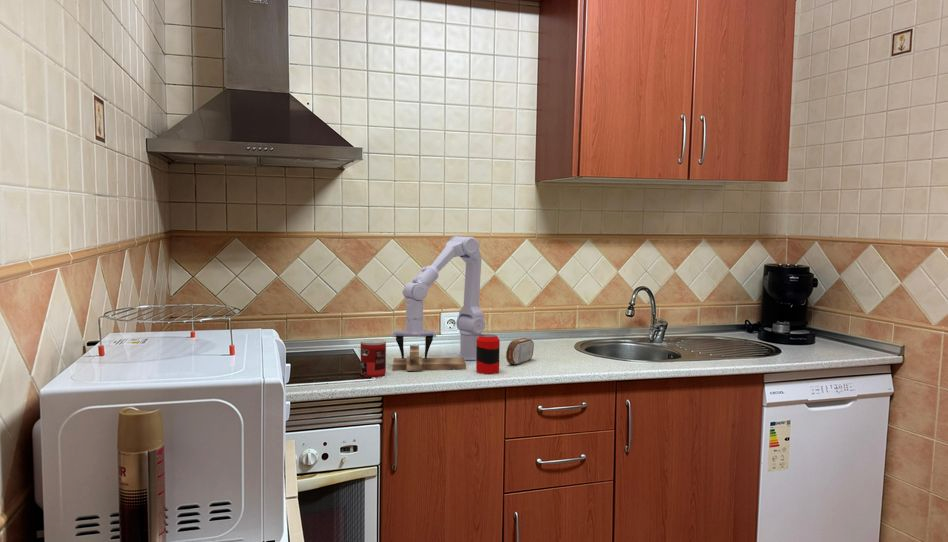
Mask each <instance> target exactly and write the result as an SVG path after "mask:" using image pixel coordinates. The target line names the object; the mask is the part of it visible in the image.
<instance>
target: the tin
mask: <svg viewBox="0 0 948 542" xmlns="http://www.w3.org/2000/svg"><path fill="white" fill-rule="evenodd" d="M534 346H535V345H534V341H533V340H532V339H531V338H528V337H527V338H526V337H521V338H518V339H512V340H511V341H510V343H509V344H508V346H507V347H506V348H507V349H506V352H505V353H506V354H505V355H506V357H505V358H506V362H507V363H508V364H510V365H513V364H514V366H517V365H516V364H518V365H521V364H524V363H523V362H525V363H527V362H526V361H528V362H530V360H531V359H532V358H533V355H534V350H535V349H534ZM520 363H521V364H520Z"/></svg>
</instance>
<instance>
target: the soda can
mask: <svg viewBox="0 0 948 542" xmlns="http://www.w3.org/2000/svg"><path fill="white" fill-rule="evenodd" d="M500 342H501V341H500V338H499V337H498V335H496V334H492V333H482V335H480V336H479V337H478V338H477V346H476V360H475V363H476V364H475V366H476V367H475V369H476V372H477V373H478V372H479V373H478V374H481V373H484V374H483V375H494V374H493V373H496V374H498V373H499V372H500ZM497 372H498V373H497Z"/></svg>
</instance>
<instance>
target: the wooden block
mask: <svg viewBox="0 0 948 542" xmlns="http://www.w3.org/2000/svg"><path fill="white" fill-rule="evenodd" d="M419 347H420V345H419V344H418V345H416V344H414V345H411V344H410V345H409V355H406V358H407V370H406V372H409V371H410V372H412V371H414V372H418V371H419V372H420V371H421V372H422V371H423V370H422V358H423V356H422V355H420V348H419Z"/></svg>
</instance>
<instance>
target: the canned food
mask: <svg viewBox="0 0 948 542" xmlns="http://www.w3.org/2000/svg"><path fill="white" fill-rule="evenodd" d="M386 373H387V342H386V340H385V339H382V338H366V339H365V338H364V339H362V340H360V375H361V376H362V375H363V376H366V377H365V378H369V377H375V378H381V377H384V376H385V375H386ZM363 376H362V377H363Z"/></svg>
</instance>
